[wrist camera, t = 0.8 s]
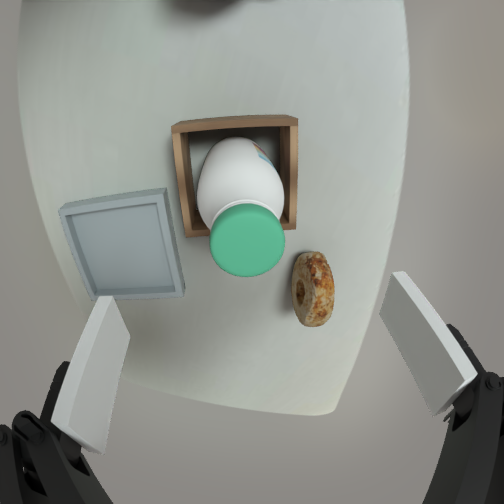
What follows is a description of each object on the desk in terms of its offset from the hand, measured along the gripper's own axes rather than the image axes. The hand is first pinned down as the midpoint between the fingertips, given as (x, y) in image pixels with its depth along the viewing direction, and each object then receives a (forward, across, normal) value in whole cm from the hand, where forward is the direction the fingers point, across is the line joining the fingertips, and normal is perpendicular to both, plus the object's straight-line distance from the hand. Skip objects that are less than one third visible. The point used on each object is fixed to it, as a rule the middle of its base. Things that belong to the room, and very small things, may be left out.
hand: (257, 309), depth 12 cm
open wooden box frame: (+25, 0, 0) cm, 25 cm away
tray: (+25, -17, -10) cm, 32 cm away
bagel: (+25, +9, -16) cm, 31 cm away
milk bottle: (+25, 0, 0) cm, 25 cm away
